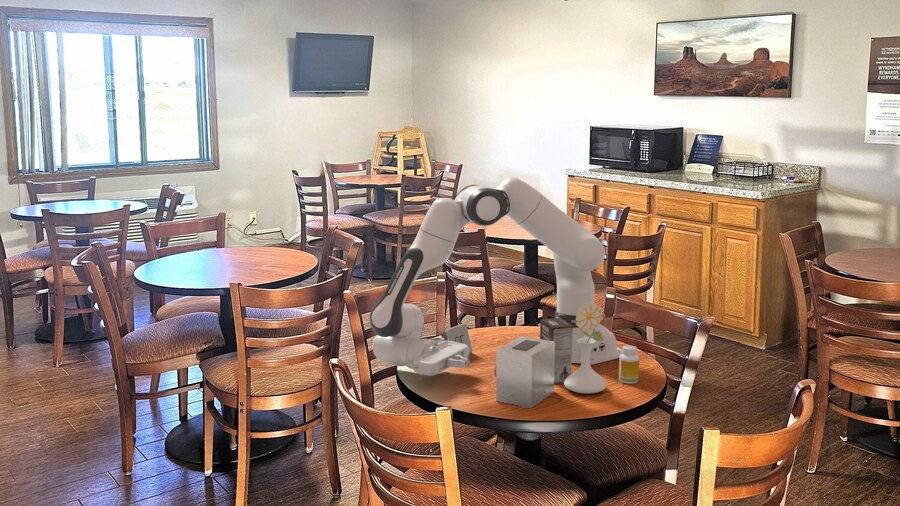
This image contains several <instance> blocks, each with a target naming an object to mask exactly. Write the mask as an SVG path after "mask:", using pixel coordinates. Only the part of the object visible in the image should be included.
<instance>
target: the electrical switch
mask: <svg viewBox="0 0 900 506" xmlns="http://www.w3.org/2000/svg"><path fill="white" fill-rule="evenodd" d="M440 336H441V337H440V338H444V341H454V342H458V343H462V344H466V345H467V346H468V347H469V355H470V354H472V353H473V348H472V343H471V338H470V333H469V329H468V326H467V324H466V323H461V324H458V325H456V326H453V327H450V328H447V329H445V331H442V332H440Z"/></svg>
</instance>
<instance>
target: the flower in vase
mask: <svg viewBox="0 0 900 506" xmlns="http://www.w3.org/2000/svg"><path fill="white" fill-rule="evenodd" d="M576 314H577V315H576V317H577V318H576V321H577V322H576V325H577V326H579V329H580V331H581V332H582V333H584V334H585V335H587V336H589V334H588V333H587V332H586V331H588V330H589V329H591V330H593V332H592V334H591V336H589V338H580V339H578V340H577V342H578V343H579V345H580V348H581V354H582V362H581V364H580V366H579V368H577V369H576V370H575V371H573V372H571V375H569V376H568V377H567V378H566V379H565V381H564V382H563V385H564V387H565V388H566V389H568V390H570V391H572V392H574V393H578V394H587V395H588V394H589V395H591V394H596V393H599V392H602V391H604V390H605V389H606V388H607V385H608V384H607V382H606V380H605V379H604V377H602V376H601V375H600V374H599V373H597V372H596V371H595V370H594V369H593V368H592V365H590V355H591V350H592V347H593V345H594V344H595V342H596V341H601V340H603V338H602V335H601V333H600V331H596V332H594V331H595V328H596V327H597V324H601V321H603V320H602V319H603V317H602V315H603V308H601V306H600V305H598V304H597V303H595V301H594V302H593V303H591V304H590V303H587V304H586V305H585V304H583V305H582V308H579V312H577V313H576ZM592 335H593V337H594V339H590V338H591V337H592Z"/></svg>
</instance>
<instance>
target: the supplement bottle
mask: <svg viewBox="0 0 900 506" xmlns="http://www.w3.org/2000/svg"><path fill="white" fill-rule="evenodd" d="M621 350H622V352H623V353H622V354H621V355H620V358H618V359H619V360H618V361H619V363H618V365H619V366H618V368H619V369H618V381H619V382H621V383H623V384H626V385H627V384H628V385H631V384H632V385H633V384H637V383H638V382H639V377H640V375H639V374H640V356H639V354H637V353H638V347H637V346H636V345H635V346H634V345H630V344H628V345H623V346H622V348H621Z"/></svg>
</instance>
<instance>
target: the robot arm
mask: <svg viewBox="0 0 900 506" xmlns="http://www.w3.org/2000/svg"><path fill="white" fill-rule="evenodd" d="M505 216H507V217H509V218H510V219H511V220H513V221H514V223H516V224H517V225H519V226H520V227H521V228H522V229H523V230H524V231H526V232H527V233H529V235H531V236H532V237H533V238H534V239H535V240H537V241H538V242H539V243H541V244H542V245H544V246H545V247H546V248H547V249H549V250H551V251H552V255H553V264H554V265H553V266H554V272H555V277H556V310H554V318H562V319H563V320H564V321H566V322H567V323H569V324H570V325H572V326H573V331H572V362H571V364H580V365H581V362H582V354H581V348H580V345H579V343H578V342H577V340H578V339H580V338H589V336H591V334H592V332H593V330H591V329H589V330H588V331H586V332H587V333H588V334H589V336H587V335H585V334H584V333H582V332H581V331H580V329H579V326H577V325H576V322H577V321H576V318H577V317H576V315H577V314H576V313H577V312H579V308H582V305H583V304H585V305H586V304H587V303H590V304H591V303H593V302H594V303H595V283H594V281H593V278H592V272H591V271H593V270H596V269H597V268H599V267H601V264H602V263H603V262H604V259H605V257H606V251H605V250H606V249H605V247H604V244H603V243H602V241H600V239H599V238H598V237H597V236H596V235H594V234H593V233H592V232H590V231H589V230H588V229H587V228H585V226H583V225H582V224H580V223H579V222H577V220H575V219H574V218H572V217H571V216H570V215H568V214H567V213H565V212H564V211H562V210H561V209H560V208H559V207H558V206H557V205H555V204H554V203H553V202H552V201H551V200H550V199H548V198H547V197H546V196H545V195H543V194H542V193H541V192H540V191H539V190H537V189H536V188H534V187H533V186H531V184H529V183H527V182H525V181H523V180H521V179H520V178H518V177H514V176H510V177H507V178H505V179H503V180H502V181H501V182H500V183H499V184H498V186H496V187H493V188H492V187H488V186H487V185H486V186H485V185H479V184H470V185H467V186H465V187H463V188H462V189H460V191H459V192H458V193H456V194H455V195H454V196H453V197H451V198H449V197H440V198H439V197H438V198H437V199H435V200H434V201H433V202H432V204H431V205H430V207H429V209H427V211H426V214H425V216H424V218H423V220H422V222H421V225H420V227H419V229H418V232H417V235H416V236H415V238H414V240H413V242H412V243H411V245H410V247H409V248H408V249H407V250H406V252H405V253H404V254H403V256H402V257H401V259H400V261H399V262H398V264H397V266H396V268H395V271H394V272H393V274H392V276H391V278H390V280H389V282H388V285H387V286H386V288H385V290H384V292H383V294H382V295H381V297H380V298H379V299H378V300H377V301H376V303H375V304H374V305H373V307H372V308H371V310H370V314H369V323H370V327H371V329H372V331H373V332H374V334H376V335H375V336H374V338H373V341H372V350H373V354H374V356H375V357H376V359H377V360H379V361H381V362H383V363H385V364H388V365H392V366H396V367H407V368H408V369H410V370H413V371H414V372H415V373H417V374H421V375H424V376H429V377H434V376H436V375H438V374H440V373H441V372H444V371H445V370H447V369H449V368H465V367H467V366H469V364H470V359H469V356H470V354H469V347H468V346H467V345H466V344H462V343H458V342H454V341H444V338H442V337H435V338H434V337H433V338H421V337H422V333H423V330H424V328H425V327H424V326H425V314H424V313H423V310H422V309H421V308H420V307H419V306H418V305H416V304H412V303H405V302H406V300H407V298H408V296H409V294H410V292H411V290H412V287H413V285H414V283H415V281H416V280H417V279H418V277H420V276H421V275H422V274H423V273H425V272H428V271H429V270H431V269H435V268H438V267H440V266H442V265H443V264H445V263H446V262H447V261H448V259H449V258H450V256H451V255H452V253H453V251H454V248H455V245H456V243H457V240H458V238H459V234H460V232H461V231H462V229H463V228H464V227H465V226H466V225H467V224H469V223H471V224H475V225H478V226H481V227H486V226H487V227H488V226H491V225H493V224H494V225H495V224H496V223H497V222H498V221H500V220H501V219H502V218H504V217H505ZM602 313H603V312H602ZM602 317H603V319H602V320H601V321H604V320H605V319H606V317H607V316H606V314H605V313H603V315H602ZM596 331H600V333H601V335H602V338H603V340H601V341H596V342H595V344H594V345H593V347H592V350H591V355H590V366H593V365H597V364H600V363H604V362H605V363H606V362H608V361H612V360H616V359H619V358H620V355H621V354H622V353H623V352H622V348H620V347H618V345H617V338H616V336H615V335H614V333H613V332H612V331H610V330H609V329H608V328H606V327H605V326H604V325H602V323H600V324H597V327H596V328H595V331H594V332H596ZM590 339H594V337H593V335H592V337H591V338H590Z"/></svg>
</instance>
